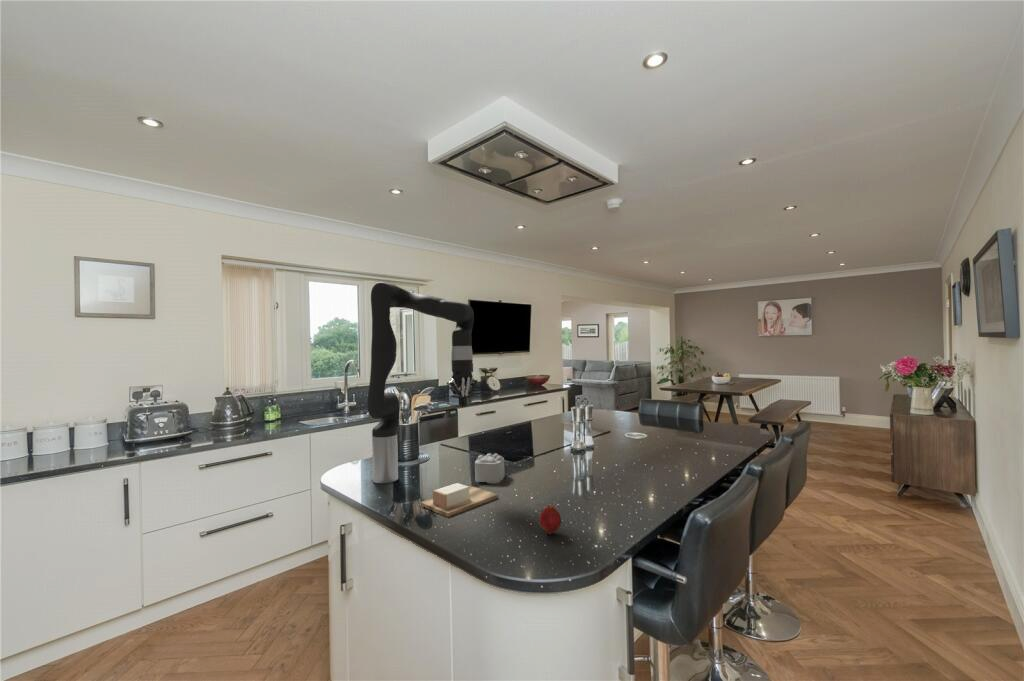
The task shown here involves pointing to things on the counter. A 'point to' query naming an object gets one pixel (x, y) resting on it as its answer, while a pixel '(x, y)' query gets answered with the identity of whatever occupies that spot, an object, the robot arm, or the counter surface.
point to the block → (450, 495)
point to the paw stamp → (489, 468)
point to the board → (474, 500)
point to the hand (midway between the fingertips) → (462, 406)
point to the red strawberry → (550, 519)
